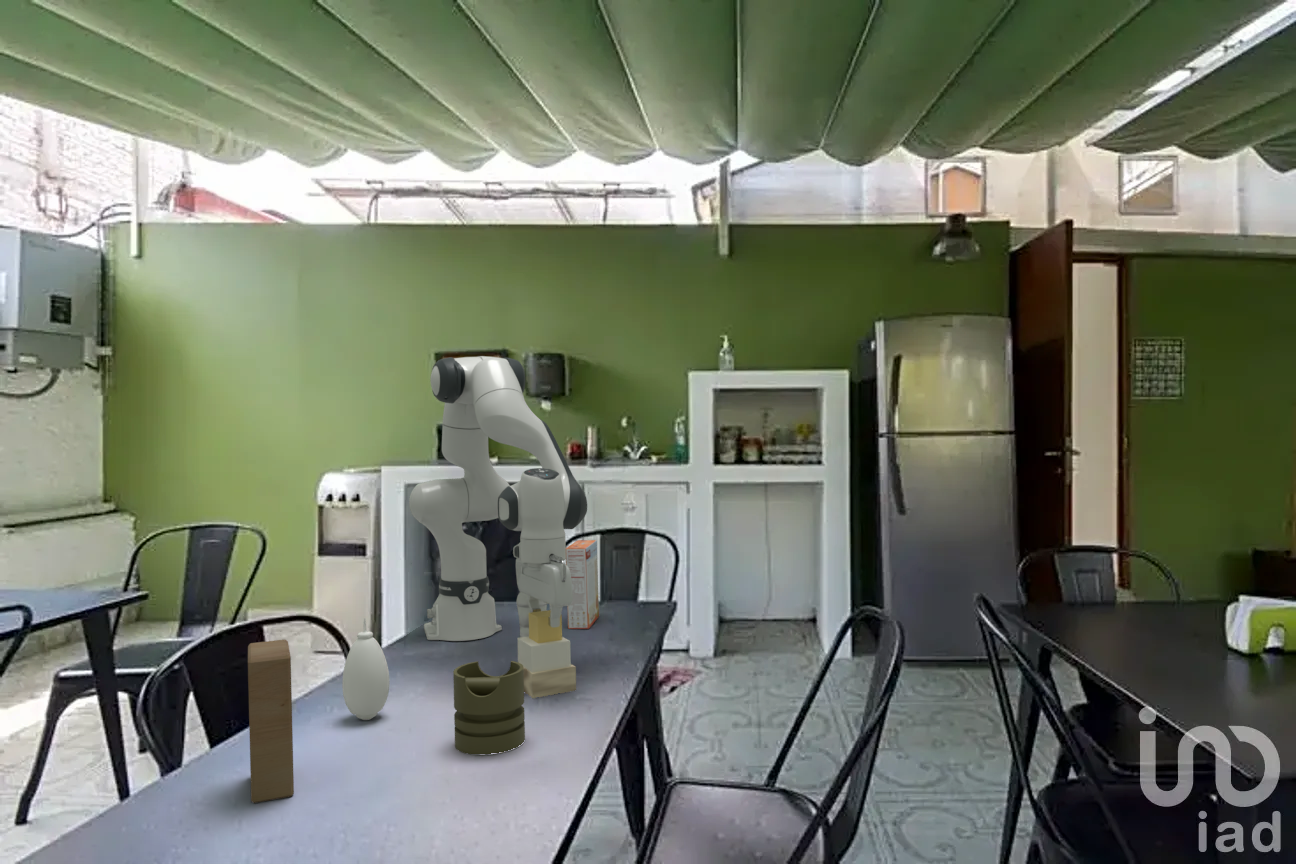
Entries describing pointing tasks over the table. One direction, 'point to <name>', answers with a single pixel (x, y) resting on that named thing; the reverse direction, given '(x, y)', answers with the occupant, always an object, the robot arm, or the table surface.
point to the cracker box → (583, 584)
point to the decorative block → (270, 720)
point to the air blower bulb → (365, 677)
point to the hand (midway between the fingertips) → (544, 621)
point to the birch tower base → (550, 681)
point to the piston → (488, 709)
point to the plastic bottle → (526, 612)
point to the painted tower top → (543, 654)
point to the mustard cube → (543, 627)
